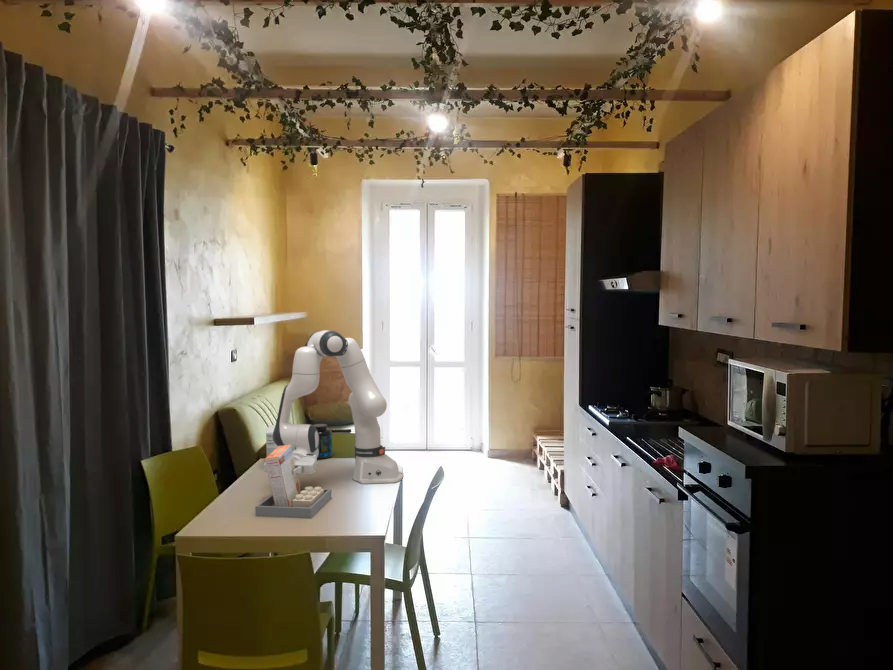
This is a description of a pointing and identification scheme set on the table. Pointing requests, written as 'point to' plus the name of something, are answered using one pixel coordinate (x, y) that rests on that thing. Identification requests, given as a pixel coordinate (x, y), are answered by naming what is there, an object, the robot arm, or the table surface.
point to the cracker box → (282, 476)
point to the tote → (291, 508)
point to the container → (324, 441)
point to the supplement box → (271, 440)
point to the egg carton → (308, 496)
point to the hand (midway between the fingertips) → (282, 472)
